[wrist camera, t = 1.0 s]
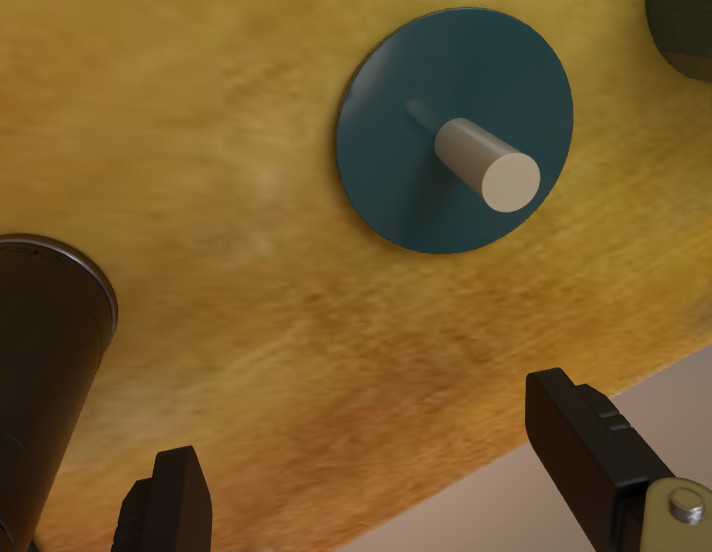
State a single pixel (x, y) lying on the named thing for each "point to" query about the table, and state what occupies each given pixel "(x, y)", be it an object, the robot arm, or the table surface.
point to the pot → (683, 35)
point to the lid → (454, 130)
